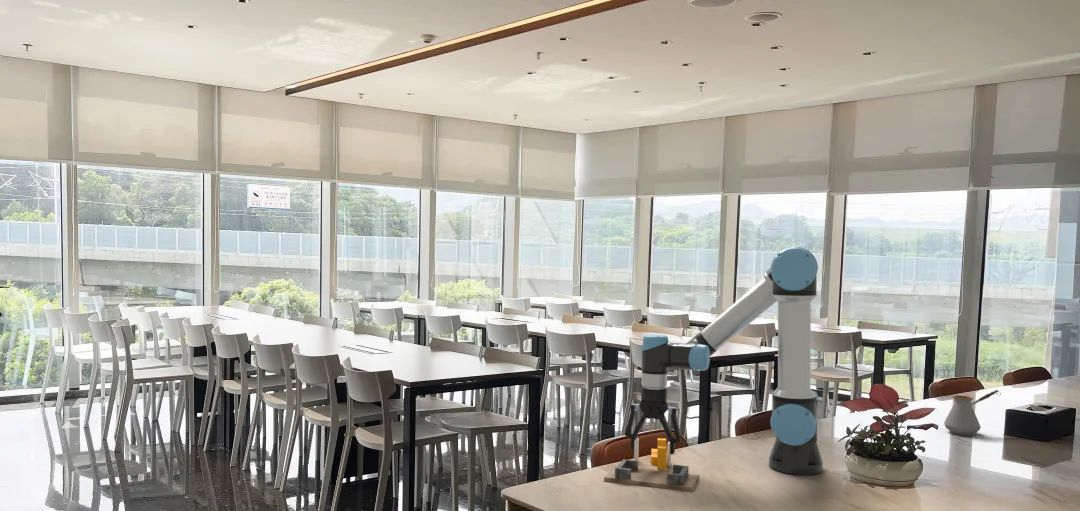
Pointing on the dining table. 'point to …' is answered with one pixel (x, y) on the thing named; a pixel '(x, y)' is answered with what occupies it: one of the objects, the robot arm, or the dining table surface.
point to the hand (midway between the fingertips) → (652, 462)
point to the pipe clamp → (660, 455)
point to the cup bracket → (652, 476)
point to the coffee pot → (964, 415)
